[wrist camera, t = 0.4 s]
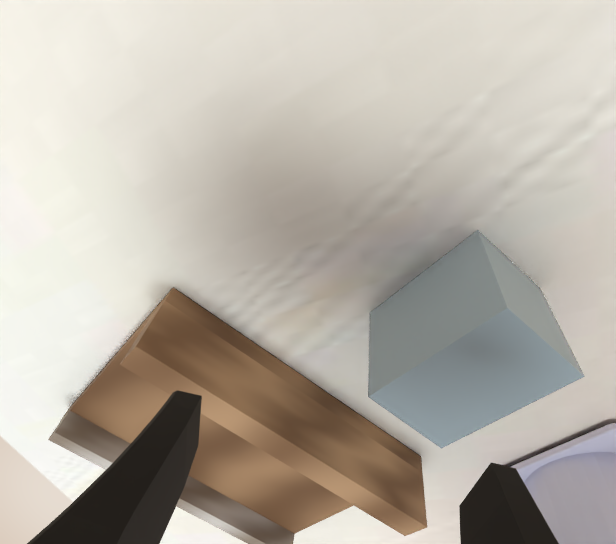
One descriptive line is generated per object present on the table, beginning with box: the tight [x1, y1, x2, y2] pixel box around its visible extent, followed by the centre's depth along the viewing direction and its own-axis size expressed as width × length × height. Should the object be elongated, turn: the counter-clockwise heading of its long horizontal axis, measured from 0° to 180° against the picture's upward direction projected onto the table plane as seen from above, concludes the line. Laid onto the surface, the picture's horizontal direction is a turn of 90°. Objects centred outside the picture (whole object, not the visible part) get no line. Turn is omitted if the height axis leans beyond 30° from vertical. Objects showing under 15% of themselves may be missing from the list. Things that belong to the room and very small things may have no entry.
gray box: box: [368, 230, 584, 448], centre depth 18 cm, size 4×6×5 cm, turn 140°
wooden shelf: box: [48, 288, 427, 544], centre depth 25 cm, size 17×13×4 cm
